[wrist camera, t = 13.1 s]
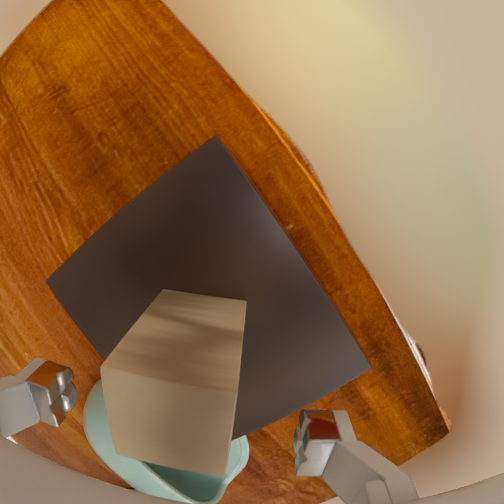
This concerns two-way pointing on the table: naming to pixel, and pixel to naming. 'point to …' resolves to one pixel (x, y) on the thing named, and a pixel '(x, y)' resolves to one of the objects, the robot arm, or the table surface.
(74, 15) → the table surface
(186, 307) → the block
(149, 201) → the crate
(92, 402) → the planter
